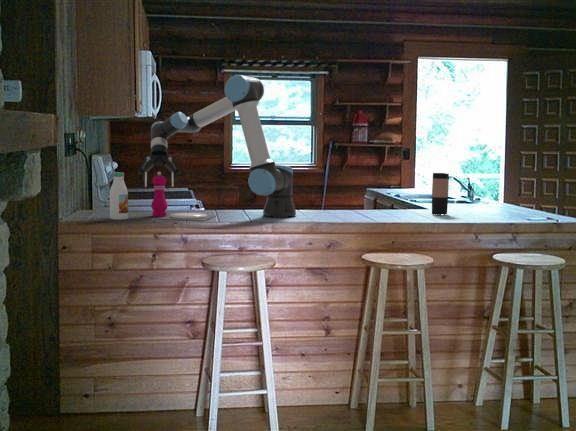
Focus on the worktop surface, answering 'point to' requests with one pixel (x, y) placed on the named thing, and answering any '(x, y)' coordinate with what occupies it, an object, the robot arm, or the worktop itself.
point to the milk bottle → (118, 198)
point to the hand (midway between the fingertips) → (159, 184)
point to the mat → (188, 219)
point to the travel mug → (440, 193)
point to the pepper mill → (159, 196)
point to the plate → (188, 215)
